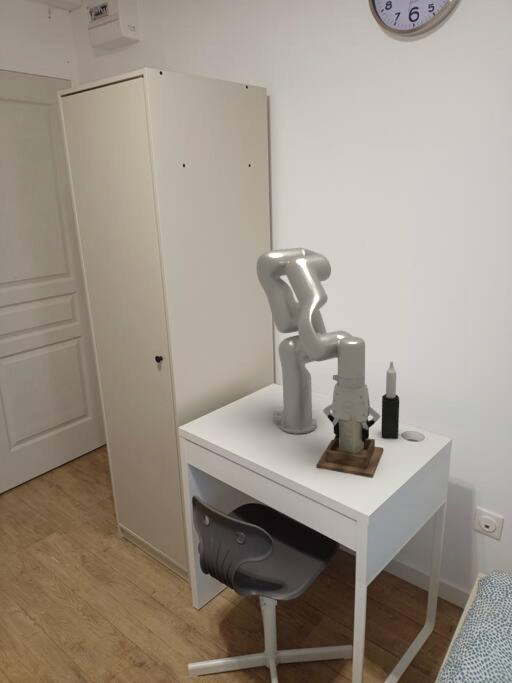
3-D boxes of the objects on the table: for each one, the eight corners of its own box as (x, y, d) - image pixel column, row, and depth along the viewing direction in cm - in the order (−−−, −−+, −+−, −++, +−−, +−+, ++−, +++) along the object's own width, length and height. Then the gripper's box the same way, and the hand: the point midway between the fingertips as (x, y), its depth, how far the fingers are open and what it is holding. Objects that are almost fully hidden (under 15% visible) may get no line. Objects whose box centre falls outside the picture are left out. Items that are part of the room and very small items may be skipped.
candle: (398, 439, 158) (400, 364, 151) (381, 438, 159) (383, 363, 152) (397, 432, 163) (399, 358, 156) (381, 431, 164) (382, 358, 157)
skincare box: (364, 450, 145) (364, 411, 142) (353, 455, 143) (353, 416, 139) (348, 442, 150) (348, 405, 147) (337, 447, 148) (337, 409, 144)
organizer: (316, 467, 144) (316, 453, 143) (331, 442, 158) (331, 429, 157) (372, 477, 137) (372, 462, 136) (383, 450, 151) (383, 437, 150)
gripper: (317, 382, 141) (318, 439, 146) (380, 388, 134) (378, 448, 139) (325, 373, 148) (325, 428, 152) (385, 379, 141) (383, 436, 145)
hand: (351, 437), depth 146 cm, fingers closed on skincare box, 7 cm apart
